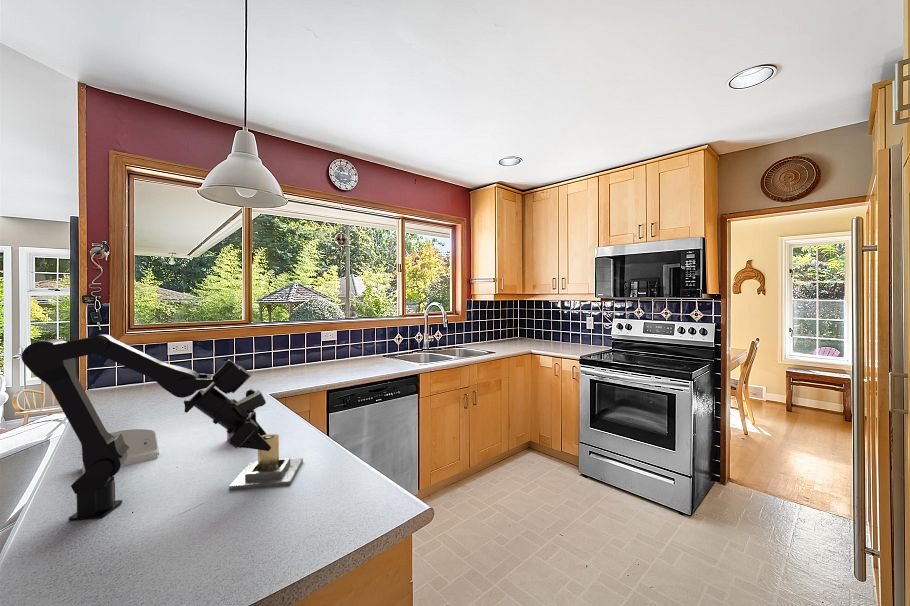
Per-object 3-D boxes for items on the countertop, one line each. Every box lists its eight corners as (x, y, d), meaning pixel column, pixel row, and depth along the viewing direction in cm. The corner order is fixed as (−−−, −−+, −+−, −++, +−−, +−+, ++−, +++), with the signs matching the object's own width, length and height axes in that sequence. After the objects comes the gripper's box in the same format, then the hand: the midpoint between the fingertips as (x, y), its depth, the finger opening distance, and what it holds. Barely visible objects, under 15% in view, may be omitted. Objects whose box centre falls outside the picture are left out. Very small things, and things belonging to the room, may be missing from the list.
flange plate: (289, 485, 96) (289, 475, 96) (229, 490, 93) (228, 480, 93) (302, 461, 109) (302, 453, 109) (250, 465, 107) (250, 456, 107)
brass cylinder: (269, 476, 98) (268, 441, 98) (253, 474, 100) (253, 439, 100) (283, 468, 103) (282, 434, 103) (268, 466, 105) (267, 432, 104)
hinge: (80, 474, 103) (82, 435, 106) (83, 474, 107) (85, 436, 109) (159, 458, 113) (158, 423, 116) (159, 458, 117) (159, 424, 119)
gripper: (245, 389, 90) (296, 428, 96) (244, 376, 107) (287, 410, 112) (206, 428, 87) (261, 466, 92) (210, 408, 103) (257, 441, 108)
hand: (268, 443), depth 101 cm, fingers open, 9 cm apart
